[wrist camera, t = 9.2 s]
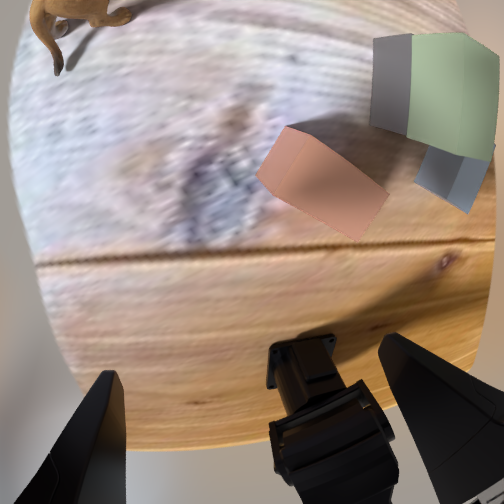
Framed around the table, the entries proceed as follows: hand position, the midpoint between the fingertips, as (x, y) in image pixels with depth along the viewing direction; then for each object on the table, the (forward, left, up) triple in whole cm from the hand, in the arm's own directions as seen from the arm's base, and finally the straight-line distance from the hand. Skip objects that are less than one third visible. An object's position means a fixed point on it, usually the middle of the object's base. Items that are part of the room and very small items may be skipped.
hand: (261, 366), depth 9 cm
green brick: (+9, -12, -8) cm, 17 cm away
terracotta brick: (+3, -6, -12) cm, 14 cm away
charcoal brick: (+9, -12, -12) cm, 20 cm away
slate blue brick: (+5, -18, -12) cm, 22 cm away
